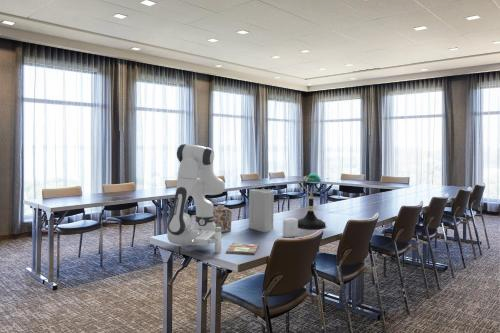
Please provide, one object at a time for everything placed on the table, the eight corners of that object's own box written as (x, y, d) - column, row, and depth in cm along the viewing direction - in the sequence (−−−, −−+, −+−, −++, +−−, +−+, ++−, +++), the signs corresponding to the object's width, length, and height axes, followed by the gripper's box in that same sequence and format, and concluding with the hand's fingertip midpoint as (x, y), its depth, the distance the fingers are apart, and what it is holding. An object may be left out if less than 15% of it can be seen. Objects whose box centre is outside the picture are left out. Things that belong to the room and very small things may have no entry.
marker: (215, 250, 221) (215, 226, 220) (221, 251, 220) (222, 227, 219) (213, 252, 217) (214, 228, 216) (220, 253, 216) (220, 228, 216)
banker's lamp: (326, 230, 278) (327, 175, 276) (293, 228, 282) (295, 174, 280) (325, 223, 304) (326, 172, 302) (296, 221, 308) (297, 171, 306)
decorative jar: (231, 231, 271) (232, 205, 271) (218, 232, 264) (219, 206, 263) (221, 228, 280) (222, 203, 280) (207, 229, 272) (209, 204, 272)
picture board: (232, 244, 234) (232, 242, 234) (258, 246, 232) (258, 244, 232) (226, 253, 217) (226, 250, 217) (254, 254, 214) (254, 252, 214)
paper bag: (280, 229, 278) (281, 191, 277) (264, 232, 270) (265, 192, 268) (264, 225, 294) (264, 188, 292) (248, 227, 285) (248, 189, 283)
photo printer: (295, 235, 263) (295, 217, 262) (298, 236, 259) (298, 218, 258) (281, 236, 259) (282, 218, 258) (284, 237, 255) (285, 219, 254)
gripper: (190, 236, 210) (214, 237, 208) (200, 228, 230) (223, 229, 228) (190, 247, 210) (214, 249, 208) (200, 239, 230) (223, 240, 228)
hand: (219, 238), depth 218 cm, fingers open, 8 cm apart
